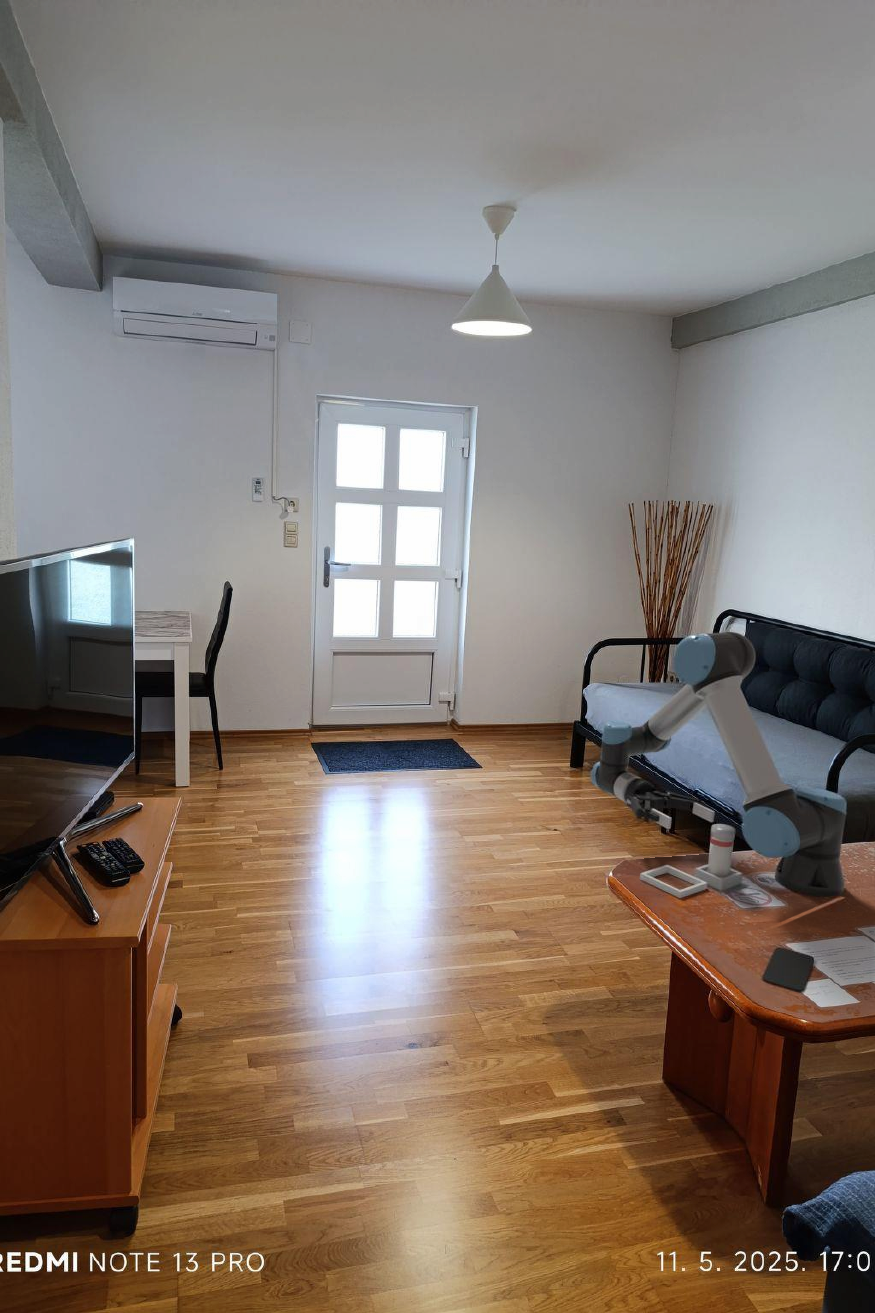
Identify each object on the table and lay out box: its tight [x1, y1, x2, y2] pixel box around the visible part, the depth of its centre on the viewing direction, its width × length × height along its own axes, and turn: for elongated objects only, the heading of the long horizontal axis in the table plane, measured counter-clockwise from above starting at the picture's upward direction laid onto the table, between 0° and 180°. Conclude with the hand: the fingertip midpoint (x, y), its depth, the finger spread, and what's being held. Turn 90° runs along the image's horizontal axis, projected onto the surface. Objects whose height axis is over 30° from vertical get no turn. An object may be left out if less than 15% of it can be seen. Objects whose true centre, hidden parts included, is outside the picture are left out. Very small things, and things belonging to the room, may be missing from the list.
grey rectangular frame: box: [639, 864, 708, 899], centre depth 208 cm, size 12×10×2 cm
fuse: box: [707, 823, 736, 878], centre depth 209 cm, size 5×5×13 cm
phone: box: [762, 946, 815, 993], centre depth 173 cm, size 7×1×15 cm
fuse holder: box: [690, 863, 750, 895], centre depth 210 cm, size 11×9×3 cm
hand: (691, 820), depth 217 cm, fingers open, 13 cm apart
